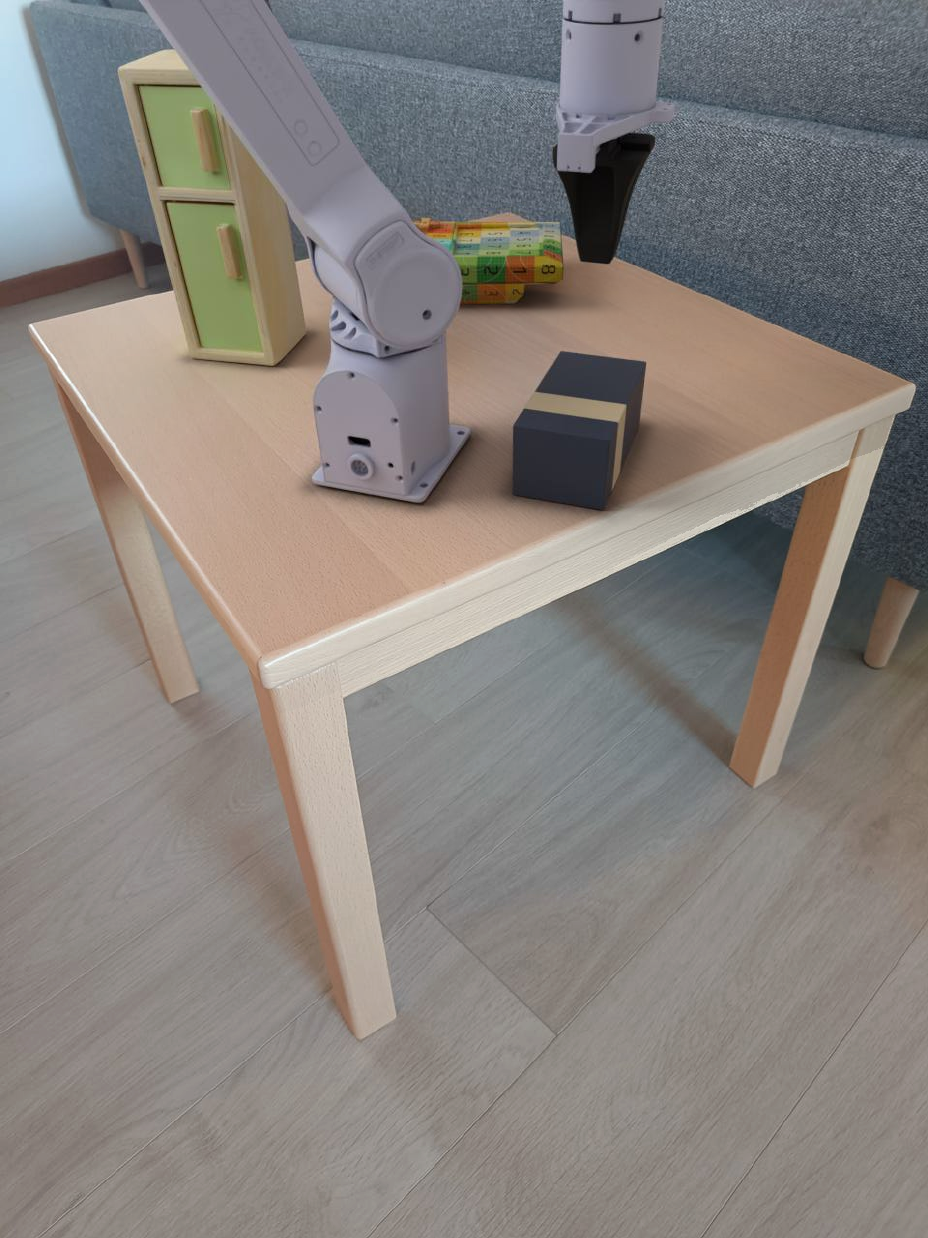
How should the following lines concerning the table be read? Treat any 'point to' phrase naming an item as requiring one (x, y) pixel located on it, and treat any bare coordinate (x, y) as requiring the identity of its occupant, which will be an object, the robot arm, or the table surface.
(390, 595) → the table surface
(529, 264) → the puzzle game
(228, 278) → the toy refrigerator
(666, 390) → the table surface
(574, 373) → the carton
